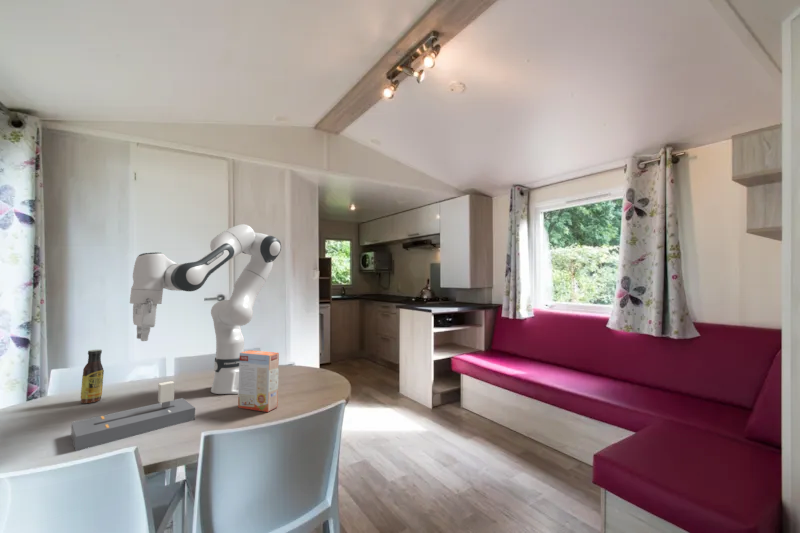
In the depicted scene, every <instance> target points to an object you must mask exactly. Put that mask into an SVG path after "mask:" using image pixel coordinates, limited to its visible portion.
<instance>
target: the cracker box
mask: <svg viewBox="0 0 800 533" xmlns="http://www.w3.org/2000/svg"><path fill="white" fill-rule="evenodd" d="M279 358H280V352H273V351H265V350H244V352H241V353H240V359H239V392H238V394H237V395H238V396H237V397H238V398H237V408H239V409H245V410H252V411H258V412H263V413H264V412H265V413H269V412H271V411H272V410H275V409H277V408H278V405H279V404H278V402H279V400H278V399H279V366H280V365H279V360H280V359H279Z"/></svg>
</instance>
